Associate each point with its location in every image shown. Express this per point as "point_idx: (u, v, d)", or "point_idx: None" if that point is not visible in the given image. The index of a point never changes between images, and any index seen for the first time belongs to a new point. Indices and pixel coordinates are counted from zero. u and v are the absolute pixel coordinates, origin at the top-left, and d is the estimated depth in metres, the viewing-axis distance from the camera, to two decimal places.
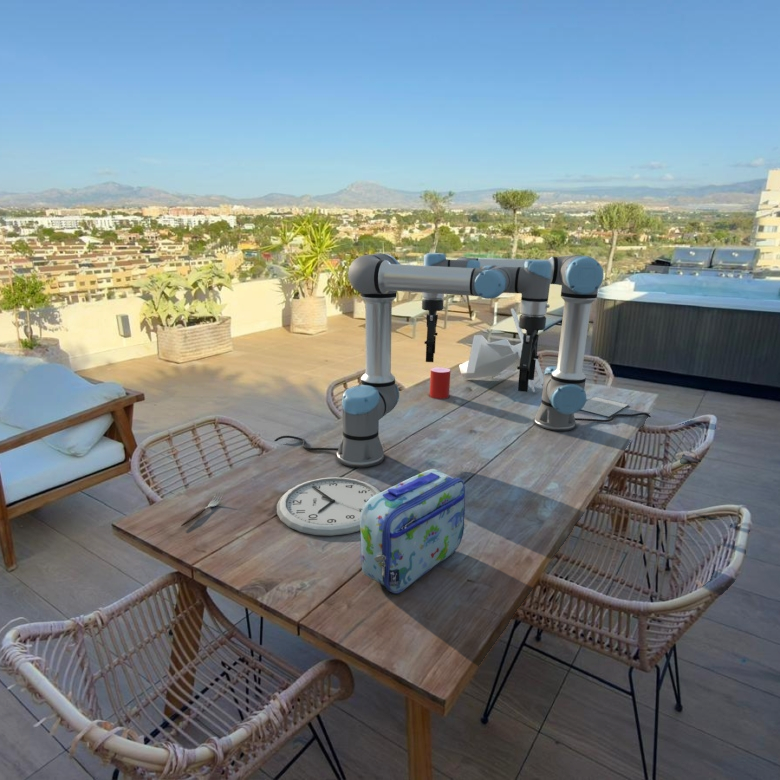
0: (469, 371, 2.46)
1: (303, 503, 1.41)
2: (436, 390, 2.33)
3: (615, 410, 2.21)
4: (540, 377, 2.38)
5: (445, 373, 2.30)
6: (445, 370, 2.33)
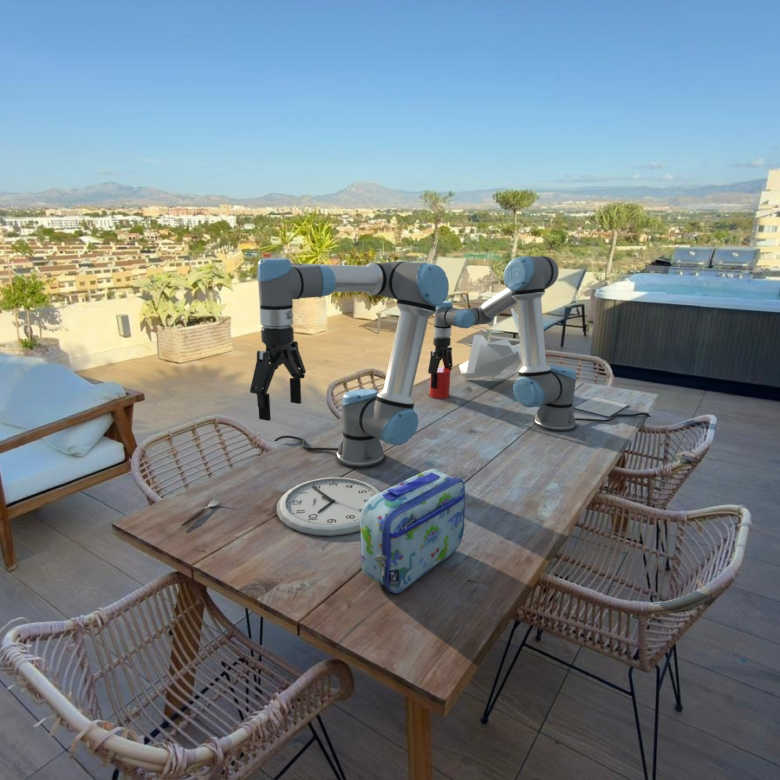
0: (469, 371, 2.46)
1: (303, 503, 1.41)
2: (436, 390, 2.33)
3: (615, 410, 2.21)
4: None
5: (445, 373, 2.30)
6: (445, 370, 2.33)
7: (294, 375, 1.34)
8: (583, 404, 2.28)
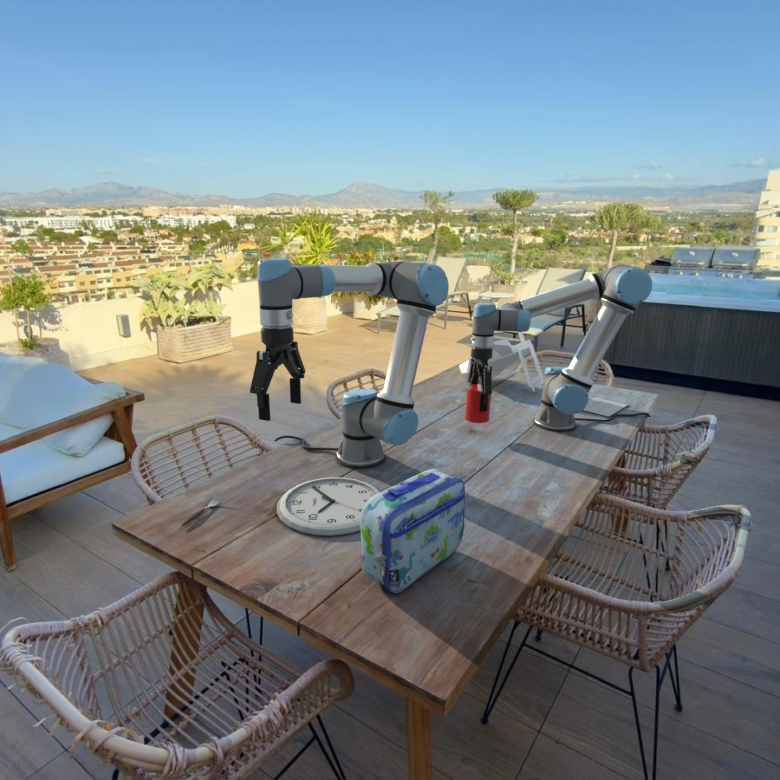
0: None
1: (303, 503, 1.41)
2: (484, 413, 1.89)
3: (615, 410, 2.21)
4: (540, 377, 2.38)
5: None
6: None
7: (294, 375, 1.34)
8: None
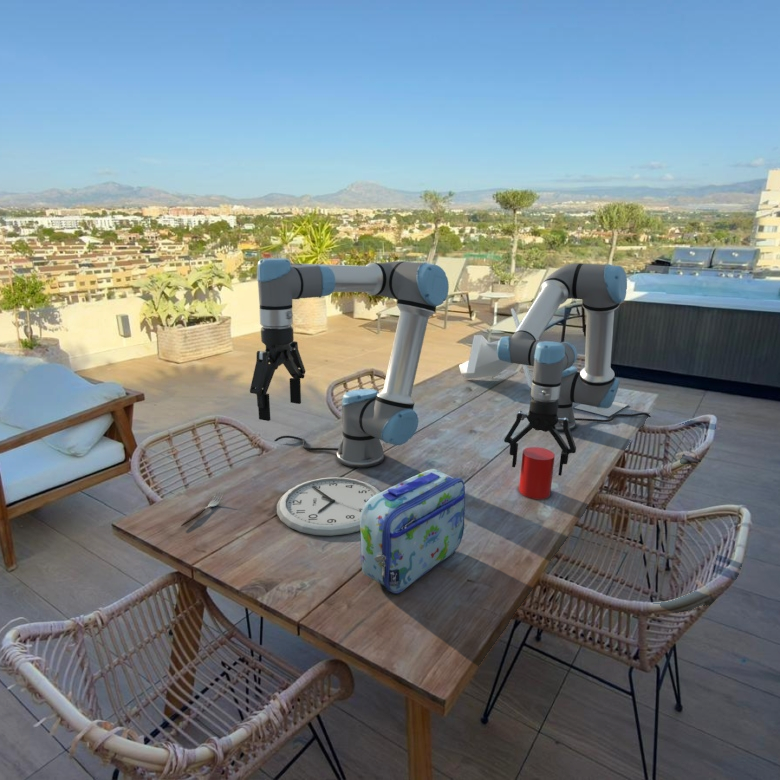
0: (469, 371, 2.46)
1: (303, 503, 1.41)
2: None
3: (615, 410, 2.21)
4: None
5: None
6: (537, 450, 1.51)
7: (294, 375, 1.34)
8: (583, 404, 2.28)
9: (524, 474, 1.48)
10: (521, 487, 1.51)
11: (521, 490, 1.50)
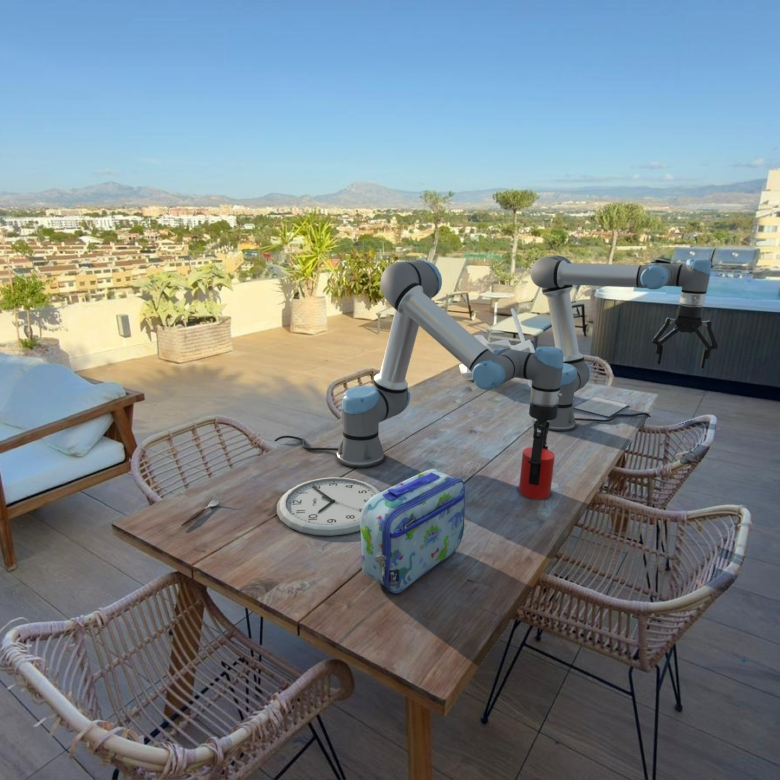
0: (469, 371, 2.46)
1: (303, 503, 1.41)
2: None
3: (615, 410, 2.21)
4: None
5: None
6: None
7: None
8: (583, 404, 2.28)
9: (524, 474, 1.48)
10: (521, 487, 1.51)
11: (521, 490, 1.50)
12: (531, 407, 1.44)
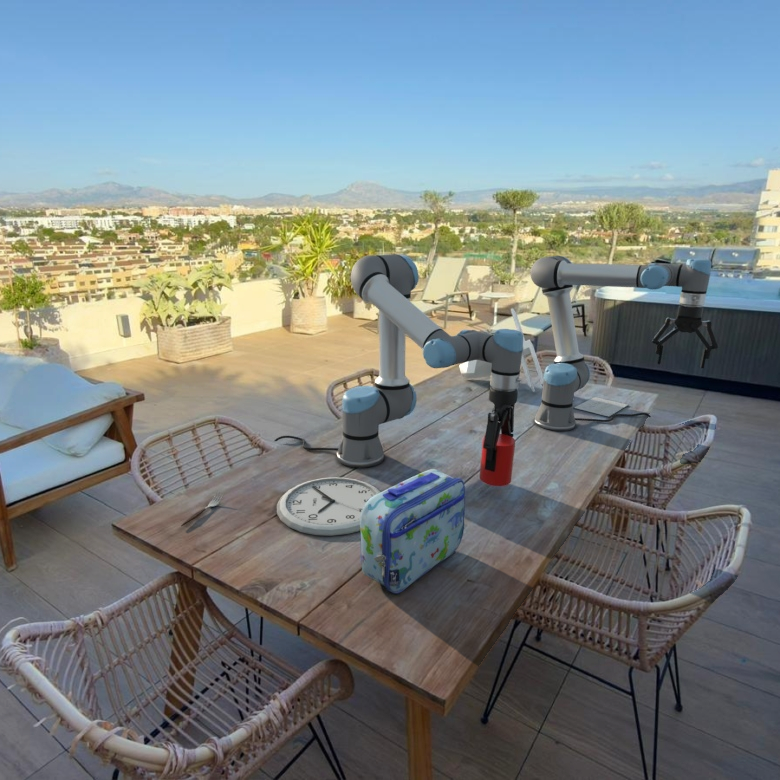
0: (469, 371, 2.46)
1: (303, 503, 1.41)
2: None
3: (615, 410, 2.21)
4: (540, 377, 2.38)
5: None
6: (499, 436, 1.47)
7: (504, 433, 1.49)
8: (583, 404, 2.28)
9: (482, 459, 1.45)
10: (480, 472, 1.48)
11: (480, 475, 1.48)
12: (490, 391, 1.40)
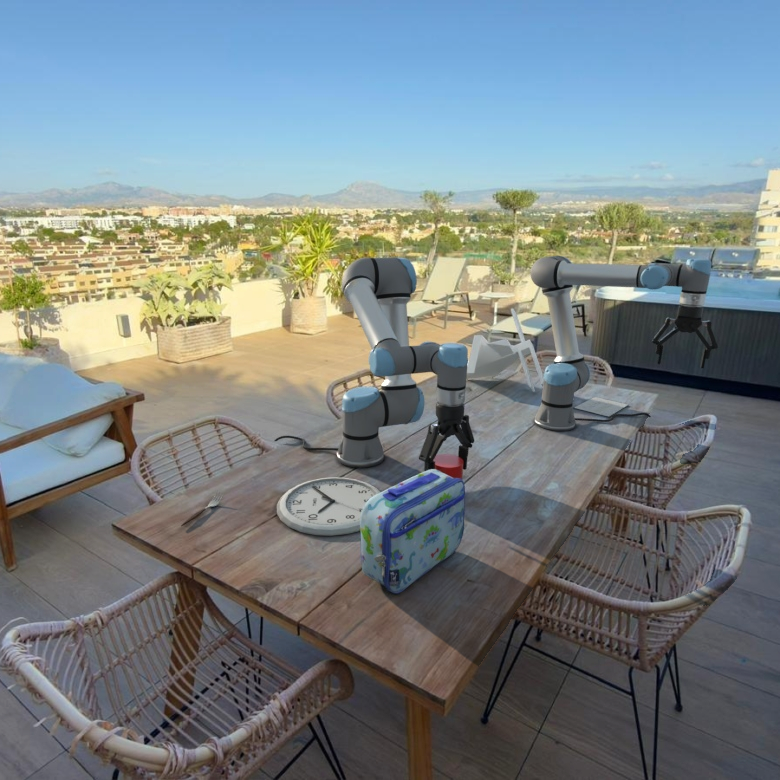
0: (469, 371, 2.46)
1: (303, 503, 1.41)
2: None
3: (615, 410, 2.21)
4: (540, 377, 2.38)
5: None
6: (450, 457, 1.45)
7: (463, 443, 1.47)
8: (583, 404, 2.28)
9: None
10: None
11: None
12: (436, 405, 1.39)
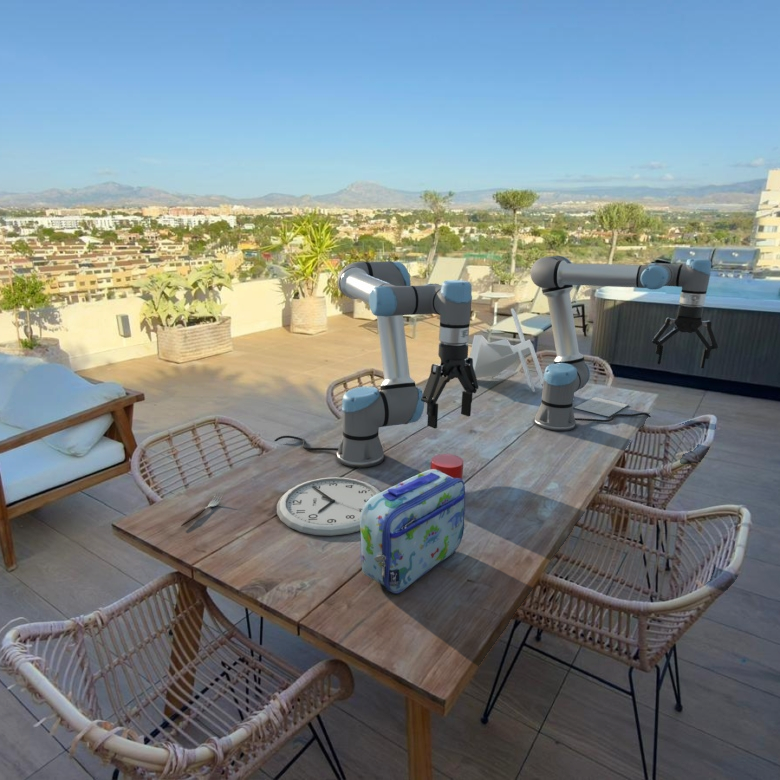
0: None
1: (303, 503, 1.41)
2: None
3: (615, 410, 2.21)
4: (540, 377, 2.38)
5: None
6: (450, 457, 1.45)
7: (467, 389, 1.42)
8: (583, 404, 2.28)
9: None
10: None
11: None
12: None
